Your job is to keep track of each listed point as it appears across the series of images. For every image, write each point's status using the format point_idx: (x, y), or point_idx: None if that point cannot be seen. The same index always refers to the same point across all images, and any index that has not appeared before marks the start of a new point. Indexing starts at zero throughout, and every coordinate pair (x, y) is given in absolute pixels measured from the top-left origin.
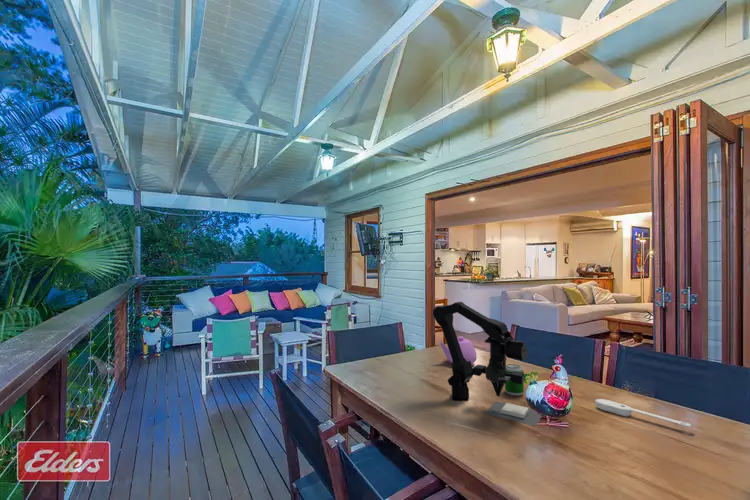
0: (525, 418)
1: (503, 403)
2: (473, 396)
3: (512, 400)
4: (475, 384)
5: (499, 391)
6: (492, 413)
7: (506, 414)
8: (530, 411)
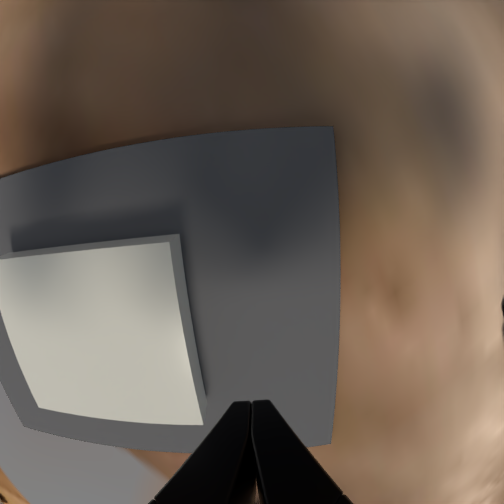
0: None
1: None
2: (476, 403)
3: None
4: (459, 498)
5: (204, 462)
6: (259, 177)
7: None
8: None
